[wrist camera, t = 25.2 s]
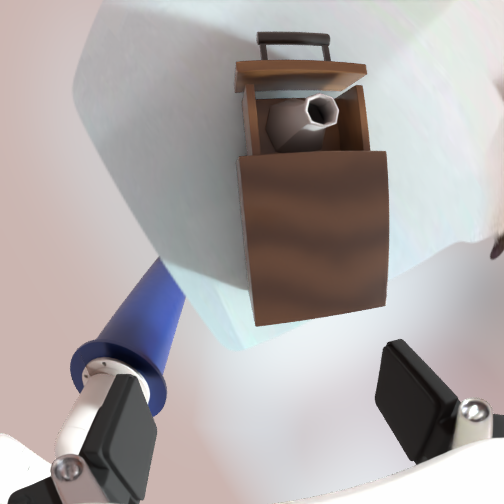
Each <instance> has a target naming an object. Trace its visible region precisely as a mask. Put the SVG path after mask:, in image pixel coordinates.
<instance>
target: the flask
mask: <svg viewBox="0 0 504 504" xmlns="http://www.w3.org/2000/svg"><path fill="white" fill-rule="evenodd" d="M338 113H339V109H338V107H337V105H336V103H335V101H334V99H333V97H330V96H327V95H324V94H321V93H318V94H315V95H312V96H309V97H306V99H305V101H303V100H299V99H296V98H291V99H288V100H285V101H283V102H280V103H277V104H275V105H272V106H271V107H270V112H269V116H268V121H267V125H266V131H267V133H268V135H269V137H270V139H271V141H272V143H273V146H274V148H275V150H276V151H277V152H281V153H293V152H314V151H316V150H319V149H321V148H322V144H323V139H324V134H325V129H326V127H329V126H331V125H334V124H336V123H337V118H338Z"/></svg>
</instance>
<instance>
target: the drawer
mask: <svg viewBox="0 0 504 504" xmlns="http://www.w3.org/2000/svg"><path fill="white" fill-rule="evenodd" d="M256 39H257V44H258V45H260V52H261V60H257V61H239V62H236V68H235V79H234V89H235V93H240V92H244V95H243V100H242V109H243V120H244V130H245V141H246V151H247V156H250V155H262V154H276V153H281V152H277V151H276V150H275V148H274V146H273V143H272V141H271V139H270V137H269V135H268V133H267V131H266V125H267V121H268V116H269V112H270V107H271V106H272V105H275V104H277V103H280V102H283V101H285V100H288V99H291V98H279V99H257V100H256V99H255V91H278V90H325V91H342V90H344V89H345V88H347V87H348V86H350V85H351V84H353V83H354V82H356V81H357V80H359V79H360V78H362V77H364V76H365V75H367V70H366V65H365V64H356V63H346V62H333V61H331V59H330V53H329V48H328V46H329V44H330V36H329V35H328V34H323V33H307V32H257V35H256ZM266 45H313V46H322V51H323V57H324V61H315V60H268V58H267V50H266ZM296 99H299V100H303V101H305V99H306V98H296ZM333 99H334V98H333ZM334 101H335V103H336V105H337V107H338V109H339V113H338V118H337V123H336V124H334V125H331V126H329V127H326V129H325V134H324V139H323V144H322V148H321V149H319V150H316V151H370V142H369V132H368V123H367V114H366V106H365V99H364V92H363V86H361V85H355V86H354V87H352V88H351V89H349V90H348V91H346V92H345V93H343V94H341V95H340V96H338V97H337V98H335V99H334ZM316 151H314V152H316Z"/></svg>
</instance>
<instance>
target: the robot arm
mask: <svg viewBox="0 0 504 504" xmlns="http://www.w3.org/2000/svg"><path fill="white" fill-rule="evenodd" d="M82 381H83V385H84V388H83V390H82V392H81V393H80V395H79V397H78V399H77V400H76V402H75V404H74V406H73V408H72V409H71V411H70V413H69V415H68V417H67V419H66V421H65V423H64V424H63V426H62V428H61V430H60V432H59V433H58V436H57V438H56V441H55V456H56V460H55V461H54V462H53V463H52V465H51V464H50V463H48V462H47V461H45V460H44V459H42V458H41V457H40V456H38V455H36V454H35V453H34V452H32V451H31V450H30V449H28V448H27V447H26V446H24V445H23V444H21V443H20V442H19V441H17V440H16V439H14V438H13V437H11V436H9V435H7V434H3V433H0V503H1V504H139V502H140V500H143V499H144V497H145V492H146V486H147V481H148V476H149V470H150V465H151V460H152V455H153V450H154V445H155V441H156V435H157V427H156V424H155V422H154V419H153V417H152V415H151V412H150V410H149V407H148V405H147V404H148V401H149V398H150V390H149V387H148V384H147V382H146V381H145V379H144V378H143V376H142V375H141V374H140V373H139V372H138V371H137V370H136V369H134V368H133V367H132V366H130V365H129V364H127V363H125V362H123V361H120V360H118V359H114V358H109V357H101V358H96V359H93V360H92V361H90V362H89V363H88V364H87V365H86V367H85V369H84V370H83V374H82ZM375 402H376V405H377V407H378V408H379V410H380V412H381V413H382V415H383V417H384V418H385V420H386V422H387V423H388V425H389V426H390V428H391V430H392V431H393V433H394V435H395V436H396V438H397V440H398V441H399V443H400V445H401V446H402V448H403V450H404V451H405V453H406V455H407V456H408V458H409V460H410V461H414V462H415V463H416V465H415V466H413V467H410V468H408V469H405V470H403V471H400V472H397V473H395V474H392V475H389V476H386V477H384V478H381V479H378V480H375V481H372V482H368V483H365V484H362V485H358V486H355V487H351V488H348V489H344V490H340V491H336V492H332V493H328V494H324V495H319V496H315V497H310V498H304V499H299V500H293V501H287V502H281V503H274V504H504V415H498V414H493V410H492V407H491V405H490V404H489V403H488V402H487V401H485V400H483V399H480V398H468V399H466V400H464V401H462V402H460V401H459V400H458V397H457V396H456V395H455V394H454V393H453V392H452V391H451V390H450V389H449V387H448V386H447V385H446V384H445V383H444V382H443V381H442V380H441V379H440V378H439V377H438V376H437V375H436V374H435V372H434V371H433V370H432V369H431V368H430V367H429V366H428V365H427V364H426V363H425V362H424V361H423V360H422V359H421V358H420V357H419V356H418V355H417V354H416V353H415V352H414V351H413V350H412V349H411V348H410V347H409V346H408V345H407V344H406V342H405V341H404V340H402V339H398V340H394V341H391V342H388V343H387V345H386V346H385V347H384V348H383V352H382V358H381V365H380V371H379V378H378V383H377V389H376V394H375Z"/></svg>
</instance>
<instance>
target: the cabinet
mask: <svg viewBox="0 0 504 504" xmlns="http://www.w3.org/2000/svg"><path fill="white" fill-rule="evenodd" d="M236 168H237V179H238V189H239V199H240V210H241V220H242V230H243V240H244V250H245V260H246V270H247V279H248V289H249V296H250V301H251V306H252V311H253V316H254V322H255V326H256V327H257V326H265V325H273V324H280V323H288V322H295V321H302V320H308V319H315V318H321V317H327V316H333V315H339V314H345V313H351V312H356V311H362V310H366V309H372V308H377V307H382V306H386V297H387V282H388V262H389V189H388V169H387V155H386V151H316V152H293V153H276V154H262V155H250V156H240V157H239V158H238V159H237V161H236Z"/></svg>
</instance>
